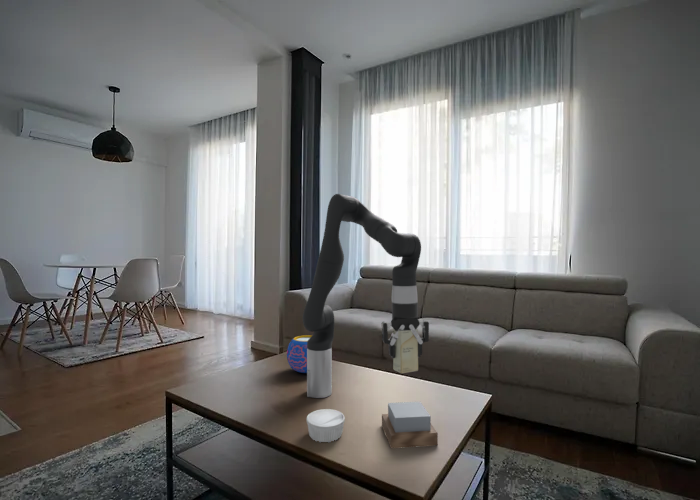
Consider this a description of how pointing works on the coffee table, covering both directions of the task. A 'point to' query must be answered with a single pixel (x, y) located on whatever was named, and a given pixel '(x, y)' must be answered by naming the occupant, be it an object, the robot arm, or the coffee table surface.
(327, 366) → the robot arm
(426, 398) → the coffee table surface
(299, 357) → the ceramic pot
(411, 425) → the slate top block
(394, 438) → the walnut base block
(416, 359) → the skincare box
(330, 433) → the ramekin
